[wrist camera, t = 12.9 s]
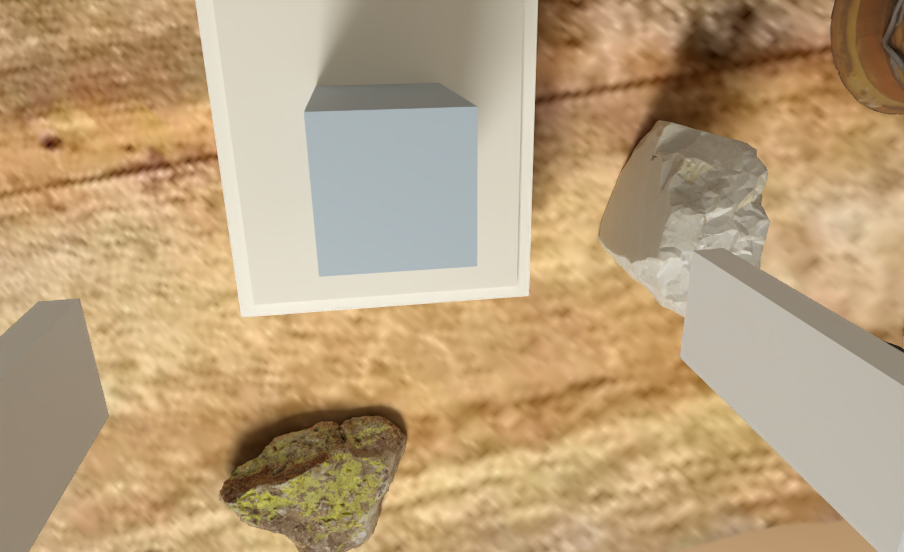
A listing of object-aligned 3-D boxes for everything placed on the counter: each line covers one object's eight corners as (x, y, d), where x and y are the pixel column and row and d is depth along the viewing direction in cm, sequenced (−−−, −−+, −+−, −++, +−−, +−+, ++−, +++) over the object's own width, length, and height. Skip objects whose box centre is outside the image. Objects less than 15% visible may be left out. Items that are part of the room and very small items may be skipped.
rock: (229, 476, 49) (311, 584, 48) (195, 499, 42) (290, 625, 41) (362, 371, 50) (444, 475, 49) (351, 375, 43) (445, 497, 42)
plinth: (255, 277, 41) (240, 319, 35) (213, -42, 34) (185, -55, 28) (505, 260, 43) (530, 297, 37) (510, -42, 36) (541, -55, 31)
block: (325, 207, 33) (318, 276, 24) (315, 86, 31) (303, 112, 22) (441, 201, 34) (477, 266, 25) (439, 82, 32) (477, 106, 23)
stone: (635, 111, 41) (738, 141, 30) (705, 132, 42) (828, 167, 31) (583, 262, 44) (659, 336, 33) (649, 277, 45) (743, 354, 34)
